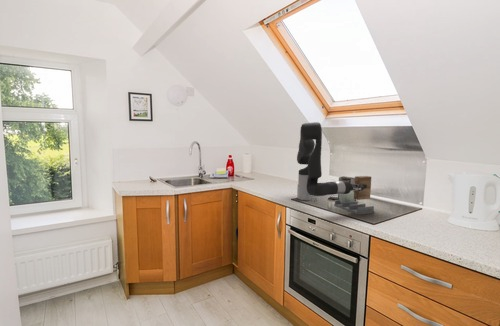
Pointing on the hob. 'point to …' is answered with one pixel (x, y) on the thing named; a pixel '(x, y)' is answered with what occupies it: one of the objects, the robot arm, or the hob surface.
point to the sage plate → (346, 197)
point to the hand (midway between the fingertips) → (363, 185)
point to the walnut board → (366, 192)
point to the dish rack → (354, 207)
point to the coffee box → (350, 179)
